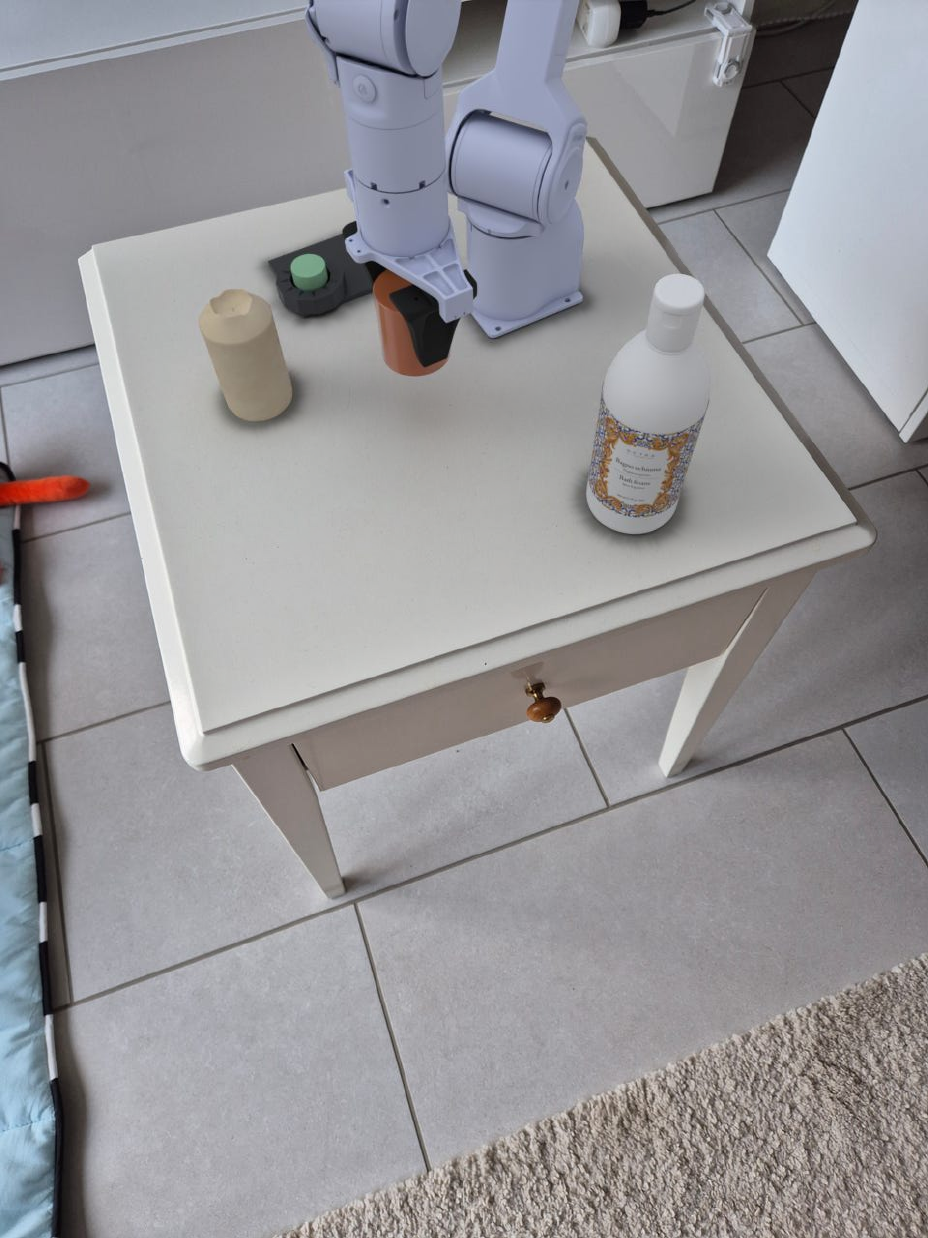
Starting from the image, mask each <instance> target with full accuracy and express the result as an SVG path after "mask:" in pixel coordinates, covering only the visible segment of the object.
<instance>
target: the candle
mask: <svg viewBox="0 0 928 1238" xmlns="http://www.w3.org/2000/svg"><path fill="white" fill-rule="evenodd" d="M274 317H275V316H274V314H273V311H272V308H271V306H270V304H269V302H268V301H267V300H266V299H264V298H263V297H261V296H260V295H257V294H255V293H252V292H249V291H247V290H245V289H243V288H230V289H229V288H228V289H225V290H223V291H222V292H221V293H220V294H219V295H217V296H216V297H212V298H211V299H210V300H209V302H208V303H207V304H206V305H205V306H204V307H203V309H202V310H201V312H200V313H199V317H198V328H199V331H200V333H201V336H202V339H203V341H204V343H205V347H206V349H207V352H208V356H209V359H210V361H211V364H212V366H213V369H214V372H215V375H216V378H217V381H218V384H219V387H220V388H221V391H222V394H223V396H224V399H225V402H226V404H227V407H228V408H229V410H230V411H231V412H232V414H233V415H235V416H236V417H237V418H239V419H241V420H244V421H248V422H264V421H268V420H271V419H273V418H276V417H278V416H280V415H281V414H282V413H284V412H285V410H287V408H288V407H289V406H290V404H291V402H292V399H293V388H292V382H291V378H290V374H289V370H288V368H287V364H286V360H285V355H284V352H283V348H282V345H281V341H280V337H279V333H278V329H277V326H276V321H275V318H274Z"/></svg>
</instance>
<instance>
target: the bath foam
mask: <svg viewBox="0 0 928 1238" xmlns="http://www.w3.org/2000/svg"><path fill="white" fill-rule="evenodd" d="M705 297H706V292H705V288H704V286H703V284H702V283H701V281H699V280H698V279H697V278H696V277H693V276H691V275H689V274H683V273H671V274H667V275H664V276H662V277H660V279H659V280H658V281H657V282H656V284H655V285H654V287H653V291H652V296H651V301H650V306H649V311H648V315H647V321H646V326H645V329H643V330H642V331H640V332H639V333H637V334H636V335H635V336H633V337H632V338H631V339H630V340H629V341H627V342H626V343H625V344H624V345H623V346H622V348H620V350H619V351H618V352H617V353H616V354H615V357H614V358H613V359H612V361H611V363H610V365H609V367H608V369H607V371H606V374H605V377H604V381H603V383H602V388H601V394H600V399H599V400H600V401H599V405H598V406H599V407H598V412H597V418H596V419H597V420H596V425H595V432H594V438H593V443H592V450H591V456H590V462H589V463H590V464H589V469H588V477H587V483H586V489H585V490H586V492H585V495H586V502H587V505H588V508H589V510H590V512H591V514H592V515H593V516H594V517H595V518H596V520H597V521H598V522H600V523H601V524H602V525H603V526H606V527H607V528H609V529H610V530H612V531H616V532H618V533H621V534H627V535H640V534H647V533H651V532H653V531H655V530H656V531H657V530H658V529H659V528H661V527H663V526H664V525H665V524H666V523H667V522H668V521H669V520H671V518H672V517H673V515H674V513H675V511H676V509H677V506H678V502H679V499H680V496H681V494H682V492H683V491H682V490H683V487H684V484H685V480H686V478H687V474H688V471H689V468H690V464H691V462H692V459H693V455H694V452H695V449H696V446H697V442H698V440H699V435H700V432H701V431H702V426H703V423H704V420H705V416H706V413H707V410H708V406H709V403H710V396H711V387H712V386H711V382H712V381H711V372H710V367H709V364H708V361H707V357H705V354H704V352H703V350H702V348H701V346H700V345H699V343H698V342H697V340H696V339H695V334H696V331H697V328H698V323H699V321H700V317H701V312H702V309H703V305H704V301H705Z"/></svg>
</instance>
